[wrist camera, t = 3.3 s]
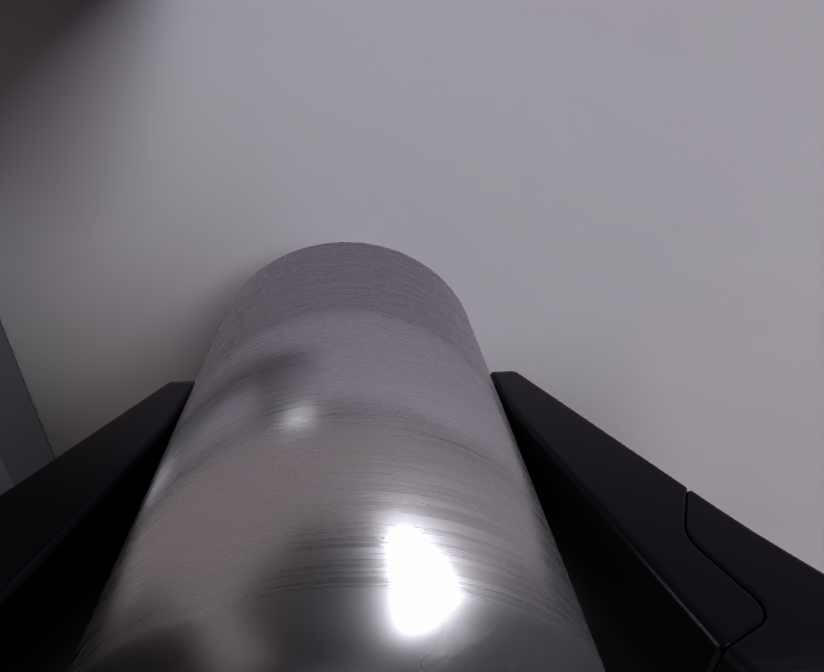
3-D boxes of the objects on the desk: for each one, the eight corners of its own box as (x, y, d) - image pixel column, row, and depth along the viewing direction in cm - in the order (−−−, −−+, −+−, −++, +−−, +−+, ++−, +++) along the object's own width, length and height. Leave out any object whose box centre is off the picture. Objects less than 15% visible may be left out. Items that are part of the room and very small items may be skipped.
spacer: (464, 453, 11) (566, 849, 6) (237, 463, 10) (120, 899, 5) (484, 240, 9) (680, 565, 3) (197, 243, 8) (-67, 615, 3)
